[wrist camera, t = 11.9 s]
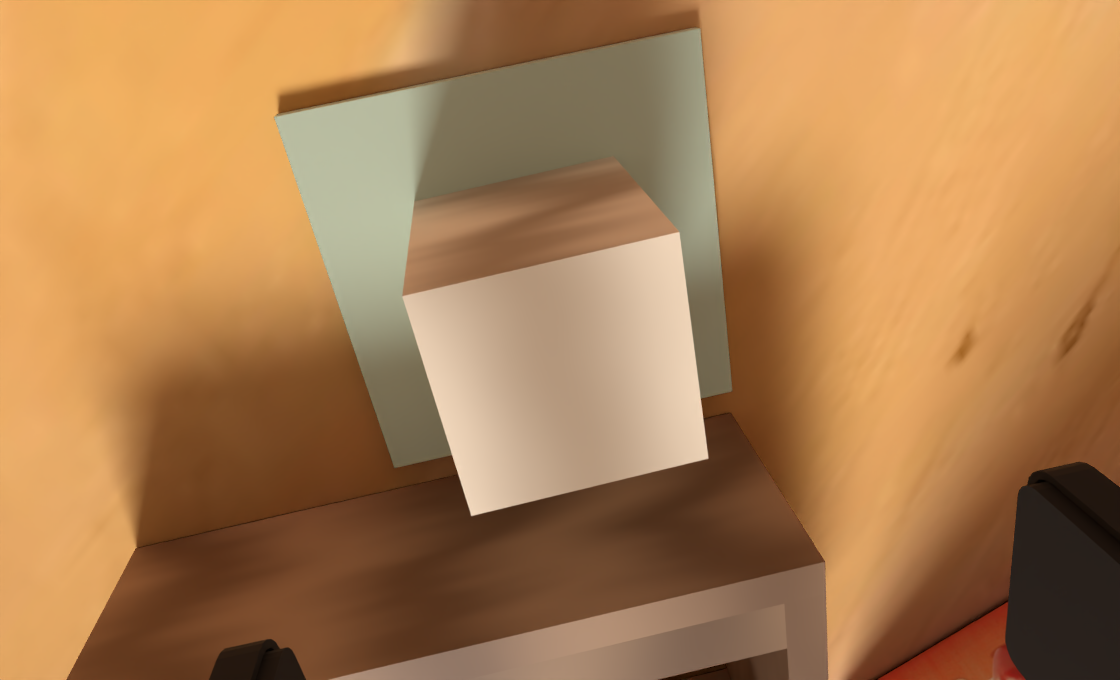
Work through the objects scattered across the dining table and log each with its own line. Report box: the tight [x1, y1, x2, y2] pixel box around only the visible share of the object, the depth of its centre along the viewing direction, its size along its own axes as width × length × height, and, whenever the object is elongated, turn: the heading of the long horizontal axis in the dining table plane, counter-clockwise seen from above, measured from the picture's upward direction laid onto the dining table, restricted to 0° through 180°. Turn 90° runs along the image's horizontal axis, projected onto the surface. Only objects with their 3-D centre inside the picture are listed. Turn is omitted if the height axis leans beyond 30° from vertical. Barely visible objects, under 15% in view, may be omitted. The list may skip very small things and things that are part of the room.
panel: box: [274, 27, 732, 468], centre depth 20 cm, size 10×10×1 cm
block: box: [402, 156, 708, 516], centre depth 17 cm, size 5×5×6 cm
